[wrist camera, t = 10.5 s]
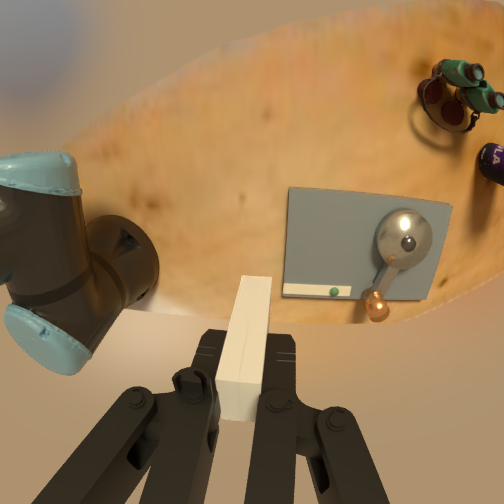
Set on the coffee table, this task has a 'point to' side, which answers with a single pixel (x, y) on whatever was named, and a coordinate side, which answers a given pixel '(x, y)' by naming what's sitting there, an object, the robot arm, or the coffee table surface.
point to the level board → (352, 244)
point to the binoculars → (460, 92)
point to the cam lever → (396, 254)
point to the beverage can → (492, 162)
